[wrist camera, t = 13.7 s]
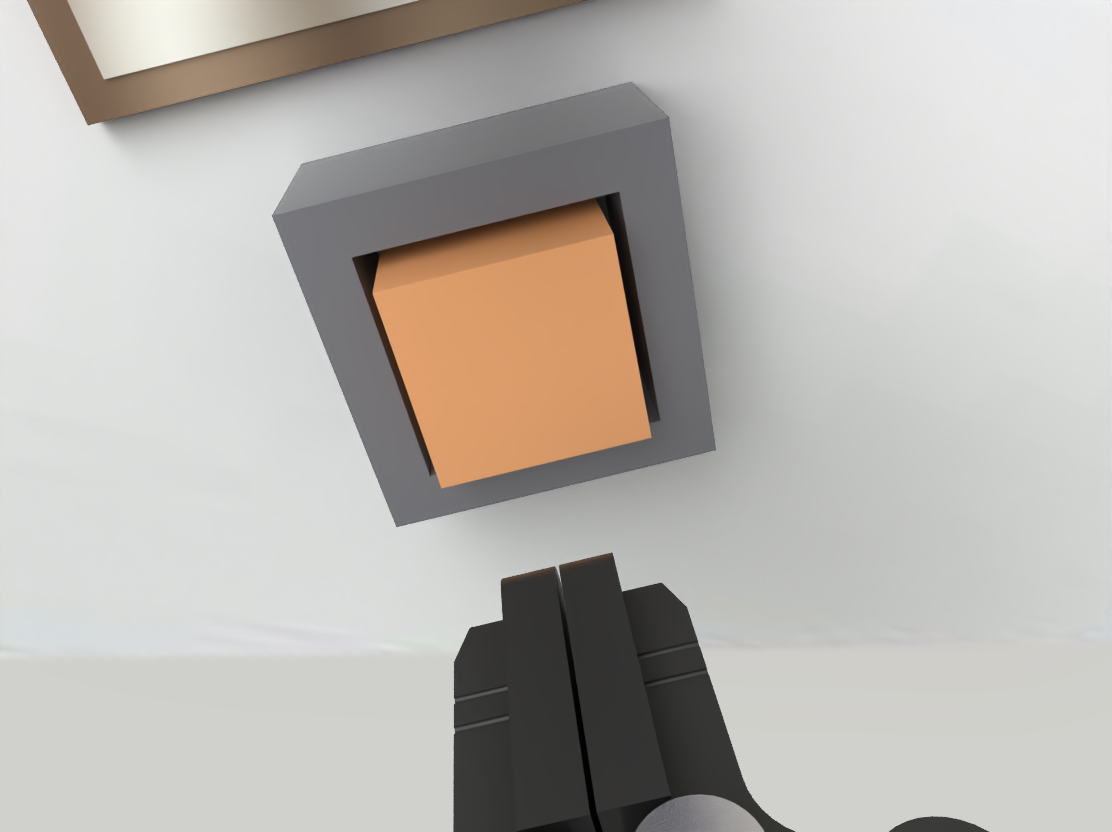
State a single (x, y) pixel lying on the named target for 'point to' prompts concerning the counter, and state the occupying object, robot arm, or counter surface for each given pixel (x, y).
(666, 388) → the button housing
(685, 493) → the counter surface
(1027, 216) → the counter surface
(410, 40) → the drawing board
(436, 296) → the button
